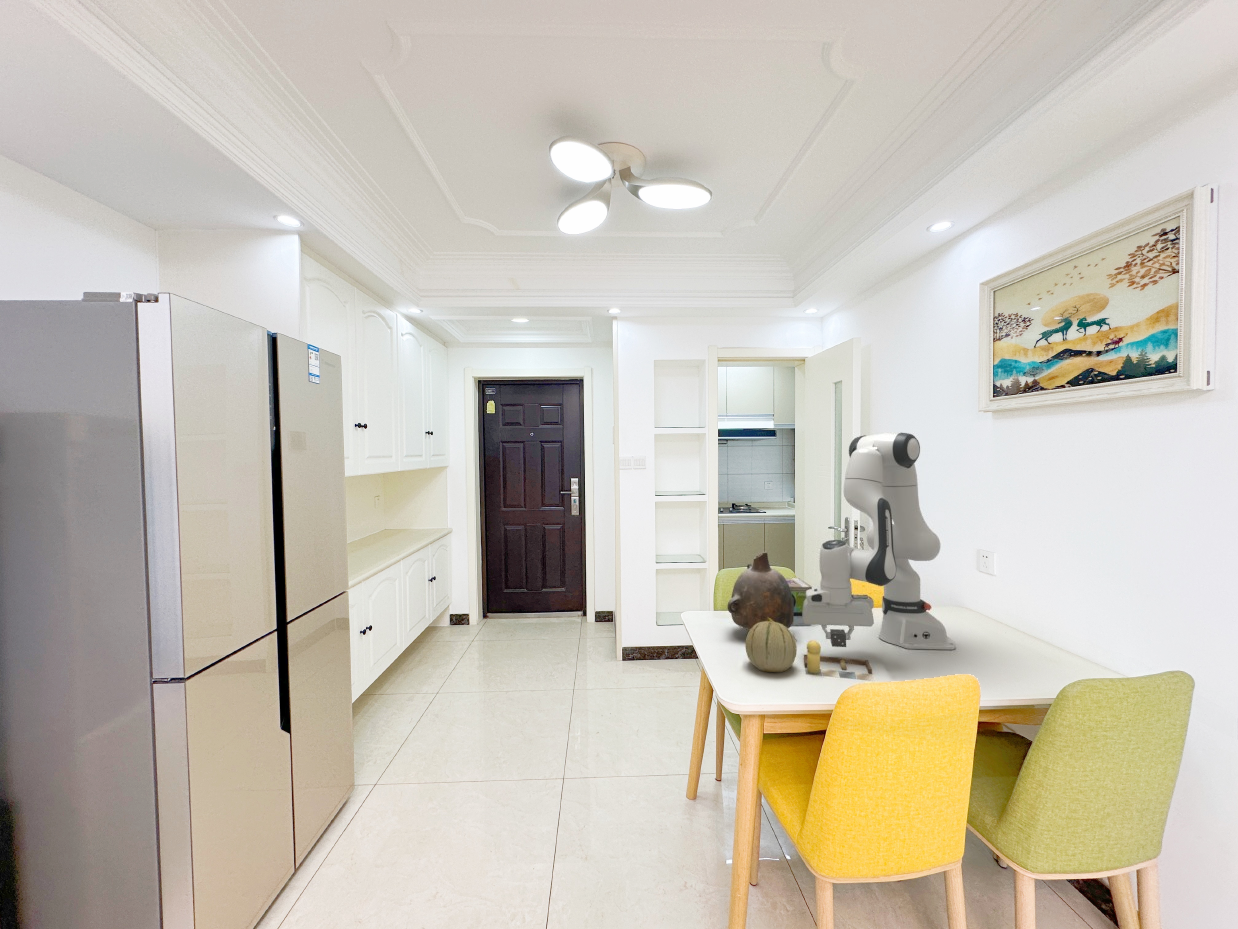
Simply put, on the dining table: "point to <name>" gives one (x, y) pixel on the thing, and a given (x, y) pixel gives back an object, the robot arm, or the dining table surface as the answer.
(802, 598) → the tea box
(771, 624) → the cantaloupe
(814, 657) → the pawn
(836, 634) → the die
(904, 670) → the dining table surface
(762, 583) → the jug
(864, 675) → the board
